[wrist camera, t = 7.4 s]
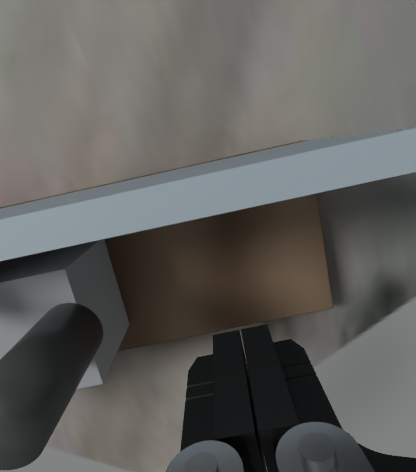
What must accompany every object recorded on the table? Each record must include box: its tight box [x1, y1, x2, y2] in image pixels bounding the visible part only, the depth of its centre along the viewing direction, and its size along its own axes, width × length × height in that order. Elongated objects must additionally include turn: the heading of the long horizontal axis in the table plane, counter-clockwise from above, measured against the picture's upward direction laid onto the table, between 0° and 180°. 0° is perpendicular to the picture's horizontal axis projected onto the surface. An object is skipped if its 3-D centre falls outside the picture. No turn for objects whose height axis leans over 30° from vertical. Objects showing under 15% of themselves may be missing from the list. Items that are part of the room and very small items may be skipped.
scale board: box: [0, 127, 416, 261], centre depth 13 cm, size 21×1×9 cm, turn 102°
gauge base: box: [0, 140, 333, 351], centre depth 19 cm, size 21×9×2 cm, turn 102°
